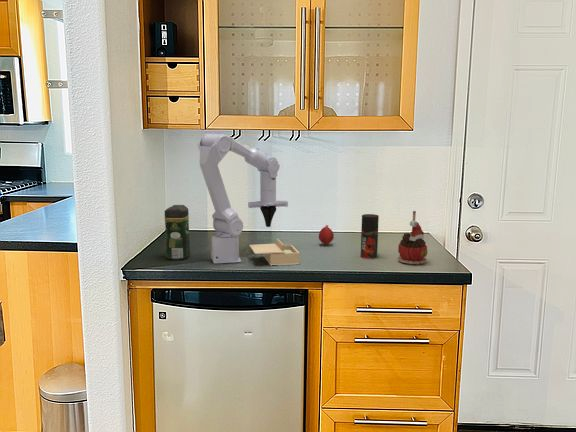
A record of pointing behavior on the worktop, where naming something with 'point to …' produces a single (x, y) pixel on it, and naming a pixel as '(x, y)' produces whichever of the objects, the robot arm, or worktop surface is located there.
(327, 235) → the onion
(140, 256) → the worktop surface
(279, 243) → the lid
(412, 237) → the cake
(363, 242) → the deodorant
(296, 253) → the base
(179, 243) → the coffee jar
